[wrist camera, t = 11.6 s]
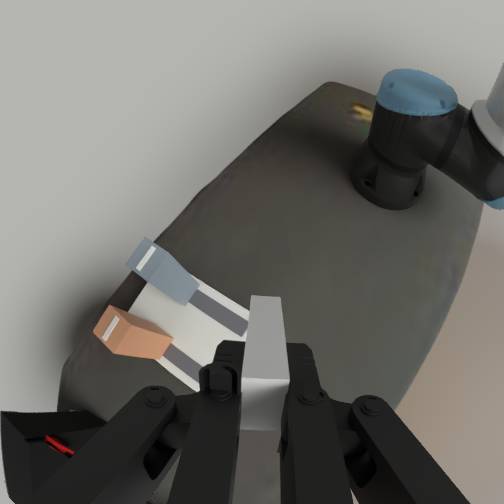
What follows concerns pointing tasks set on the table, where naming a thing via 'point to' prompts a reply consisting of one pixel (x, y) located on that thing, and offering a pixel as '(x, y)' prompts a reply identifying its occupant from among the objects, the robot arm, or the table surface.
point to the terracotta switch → (131, 334)
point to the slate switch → (162, 271)
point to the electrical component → (41, 446)
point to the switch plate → (192, 327)
